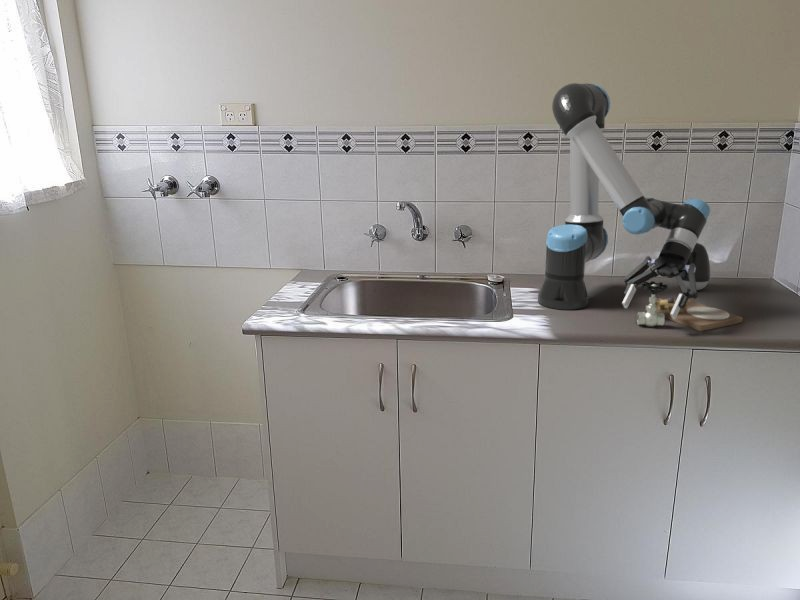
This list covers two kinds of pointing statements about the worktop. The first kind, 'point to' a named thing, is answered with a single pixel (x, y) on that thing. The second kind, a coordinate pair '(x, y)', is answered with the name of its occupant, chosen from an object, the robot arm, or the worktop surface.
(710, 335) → the worktop surface
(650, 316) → the valve
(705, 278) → the black egg-shaped capsule
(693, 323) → the board
